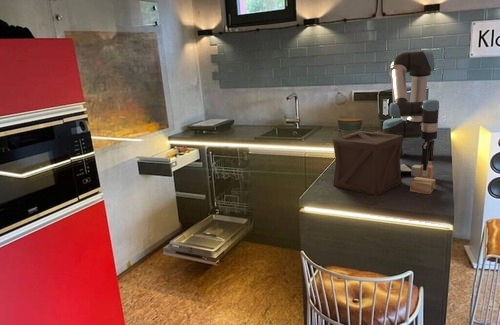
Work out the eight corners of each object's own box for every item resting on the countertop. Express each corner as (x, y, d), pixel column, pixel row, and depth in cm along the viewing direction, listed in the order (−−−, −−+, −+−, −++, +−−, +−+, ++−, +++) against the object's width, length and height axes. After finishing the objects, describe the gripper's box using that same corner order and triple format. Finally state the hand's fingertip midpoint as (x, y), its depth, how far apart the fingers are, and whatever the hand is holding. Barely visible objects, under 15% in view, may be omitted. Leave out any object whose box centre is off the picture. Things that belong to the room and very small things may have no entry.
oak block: (415, 186, 191) (415, 176, 190) (434, 189, 185) (435, 179, 184) (409, 191, 184) (410, 181, 183) (429, 194, 179) (430, 184, 177)
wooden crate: (359, 174, 215) (358, 130, 208) (402, 182, 197) (403, 134, 190) (333, 186, 199) (332, 139, 192) (377, 196, 181) (378, 144, 174)
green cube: (413, 173, 210) (414, 164, 208) (423, 174, 207) (424, 165, 205) (411, 175, 206) (411, 167, 204) (421, 177, 203) (421, 168, 201)
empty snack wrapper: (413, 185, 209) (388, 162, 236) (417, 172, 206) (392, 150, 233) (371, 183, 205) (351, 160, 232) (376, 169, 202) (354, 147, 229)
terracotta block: (422, 176, 203) (423, 164, 201) (432, 177, 200) (433, 165, 198) (419, 179, 200) (420, 166, 198) (430, 180, 196) (430, 167, 195)
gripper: (426, 127, 202) (423, 169, 208) (416, 133, 189) (413, 178, 195) (441, 128, 197) (438, 170, 204) (432, 134, 184) (429, 180, 190)
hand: (426, 174), depth 199 cm, fingers closed on terracotta block, 5 cm apart
